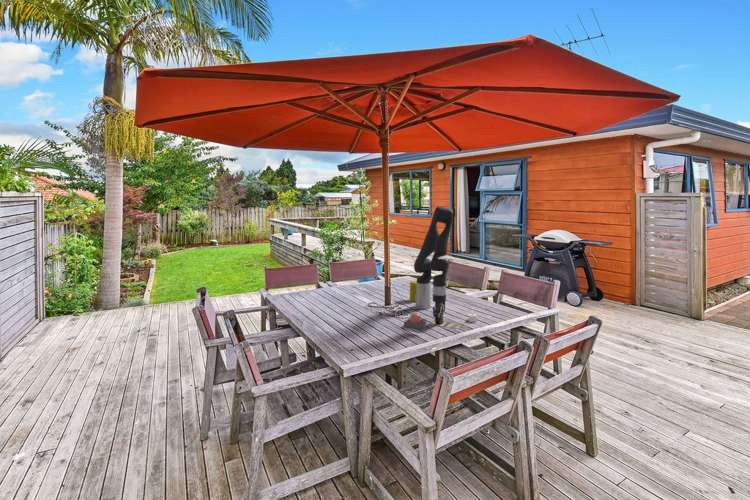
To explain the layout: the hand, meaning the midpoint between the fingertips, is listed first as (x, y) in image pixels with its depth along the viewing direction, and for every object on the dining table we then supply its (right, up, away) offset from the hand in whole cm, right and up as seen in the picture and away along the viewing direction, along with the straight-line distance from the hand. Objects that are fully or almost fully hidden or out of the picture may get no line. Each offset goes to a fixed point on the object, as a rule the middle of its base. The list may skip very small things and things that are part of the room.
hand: (439, 321), depth 214 cm
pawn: (0, -1, 0) cm, 1 cm away
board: (+4, -2, -2) cm, 5 cm away
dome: (-14, 0, -3) cm, 14 cm away
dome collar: (-14, -3, -3) cm, 15 cm away
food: (-7, +5, +56) cm, 57 cm away
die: (+20, -1, +4) cm, 21 cm away
